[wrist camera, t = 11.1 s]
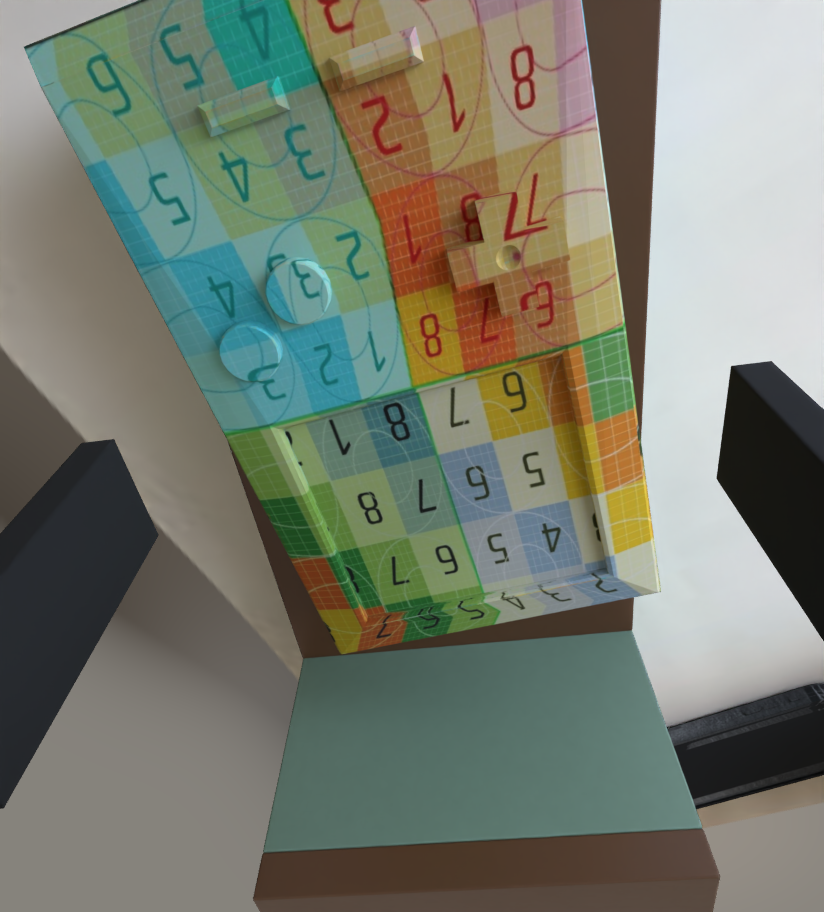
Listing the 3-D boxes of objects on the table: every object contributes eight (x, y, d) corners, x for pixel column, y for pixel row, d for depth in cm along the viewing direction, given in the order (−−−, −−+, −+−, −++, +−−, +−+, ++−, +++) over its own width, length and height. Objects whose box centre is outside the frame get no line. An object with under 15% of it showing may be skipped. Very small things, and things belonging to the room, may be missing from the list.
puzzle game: (568, -187, 11) (669, 612, 21) (531, -121, 15) (630, 524, 25) (-1, 45, 13) (337, 675, 23) (99, 49, 17) (351, 584, 27)
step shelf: (169, 57, 22) (-238, 47, 9) (606, -22, 21) (943, -184, 7) (356, 691, 40) (319, 1017, 26) (600, 671, 38) (694, 1005, 25)
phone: (865, 763, 41) (639, 825, 45) (855, 747, 42) (634, 809, 46) (839, 693, 37) (596, 766, 41) (829, 677, 38) (593, 750, 42)
